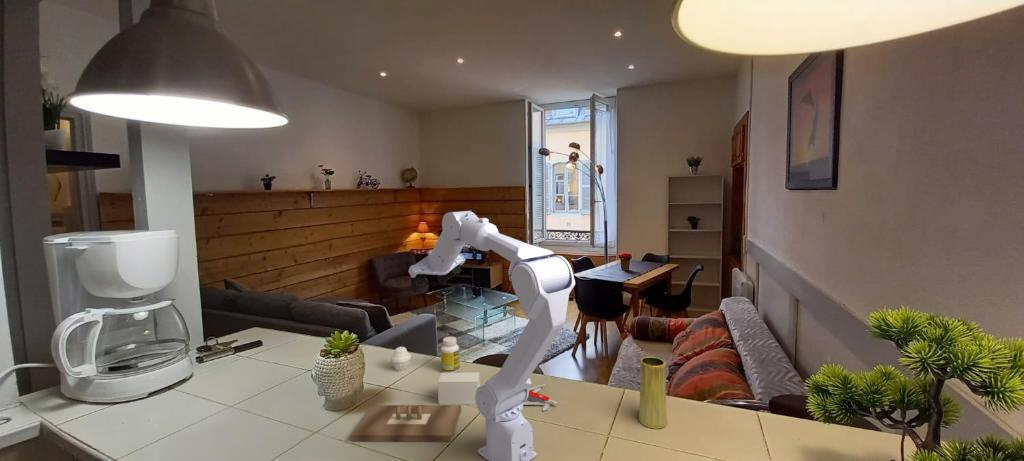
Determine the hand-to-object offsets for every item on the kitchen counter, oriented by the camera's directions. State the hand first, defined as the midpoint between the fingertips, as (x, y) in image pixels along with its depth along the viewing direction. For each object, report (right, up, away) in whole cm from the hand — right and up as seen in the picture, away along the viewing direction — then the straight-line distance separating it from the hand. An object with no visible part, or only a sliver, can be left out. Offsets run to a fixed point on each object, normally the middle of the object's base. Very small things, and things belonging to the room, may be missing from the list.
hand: (426, 285), depth 99 cm
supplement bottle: (+3, -29, +21) cm, 36 cm away
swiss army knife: (+28, -30, +2) cm, 41 cm away
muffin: (-13, -29, +23) cm, 39 cm away
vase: (+53, -30, -9) cm, 62 cm away
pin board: (-2, -32, -7) cm, 32 cm away
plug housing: (+8, -30, +4) cm, 31 cm away
